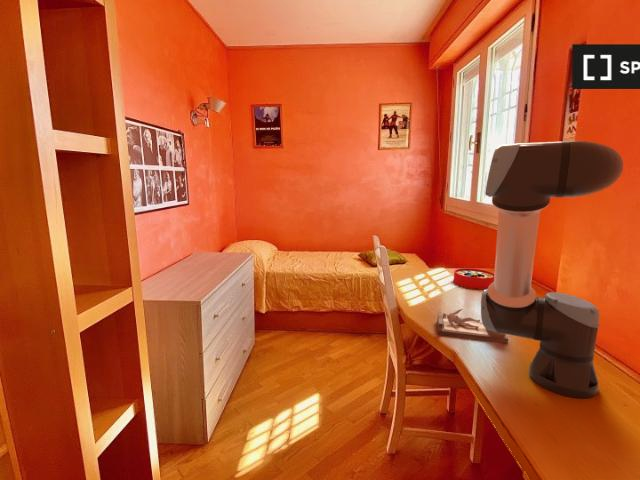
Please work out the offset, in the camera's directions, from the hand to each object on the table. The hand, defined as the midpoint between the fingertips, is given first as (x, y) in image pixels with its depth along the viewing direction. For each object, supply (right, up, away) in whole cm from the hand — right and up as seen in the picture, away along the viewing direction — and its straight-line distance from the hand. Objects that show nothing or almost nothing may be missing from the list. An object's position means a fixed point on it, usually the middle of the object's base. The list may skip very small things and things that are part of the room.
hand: (517, 256), depth 121 cm
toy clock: (+11, -18, +59) cm, 62 cm away
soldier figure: (-20, -25, +2) cm, 32 cm away
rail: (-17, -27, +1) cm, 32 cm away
